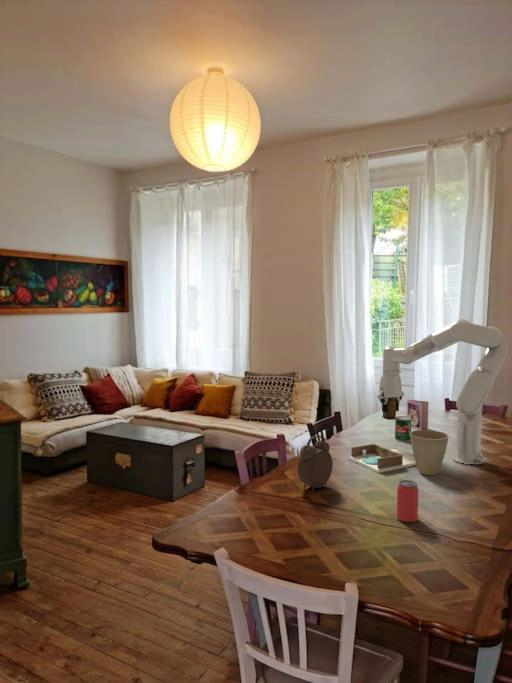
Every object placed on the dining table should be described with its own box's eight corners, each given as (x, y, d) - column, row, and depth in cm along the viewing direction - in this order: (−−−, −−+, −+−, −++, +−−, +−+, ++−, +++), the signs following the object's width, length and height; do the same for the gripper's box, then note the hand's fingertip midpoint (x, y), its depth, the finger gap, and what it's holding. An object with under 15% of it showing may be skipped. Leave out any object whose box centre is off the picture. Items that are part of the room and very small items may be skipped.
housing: (402, 464, 212) (402, 454, 212) (379, 468, 207) (379, 459, 206) (373, 452, 229) (374, 443, 228) (351, 456, 223) (351, 447, 223)
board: (424, 463, 218) (425, 454, 217) (377, 473, 206) (378, 463, 206) (394, 451, 235) (394, 442, 234) (349, 459, 223) (349, 450, 223)
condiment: (392, 415, 241) (393, 390, 240) (401, 419, 233) (401, 393, 232) (378, 416, 240) (378, 391, 239) (386, 420, 232) (387, 394, 231)
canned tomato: (409, 437, 258) (409, 416, 257) (412, 441, 251) (413, 420, 250) (393, 436, 259) (394, 415, 258) (396, 441, 251) (396, 419, 250)
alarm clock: (318, 480, 198) (319, 430, 196) (333, 485, 193) (334, 434, 191) (294, 490, 188) (294, 437, 186) (309, 495, 183) (310, 441, 181)
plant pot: (453, 472, 207) (454, 434, 206) (437, 481, 197) (439, 441, 195) (418, 463, 218) (419, 427, 216) (402, 472, 207) (403, 434, 205)
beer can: (414, 525, 159) (415, 488, 158) (393, 520, 163) (394, 484, 162) (419, 517, 165) (421, 481, 164) (399, 512, 168) (400, 477, 167)
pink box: (405, 426, 280) (405, 399, 279) (415, 424, 284) (416, 398, 282) (419, 431, 270) (420, 403, 269) (430, 429, 273) (431, 402, 272)
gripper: (400, 371, 242) (399, 408, 244) (371, 373, 235) (370, 411, 236) (411, 373, 235) (410, 411, 237) (381, 375, 228) (380, 414, 229)
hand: (390, 410), depth 236 cm, fingers closed on condiment, 6 cm apart
